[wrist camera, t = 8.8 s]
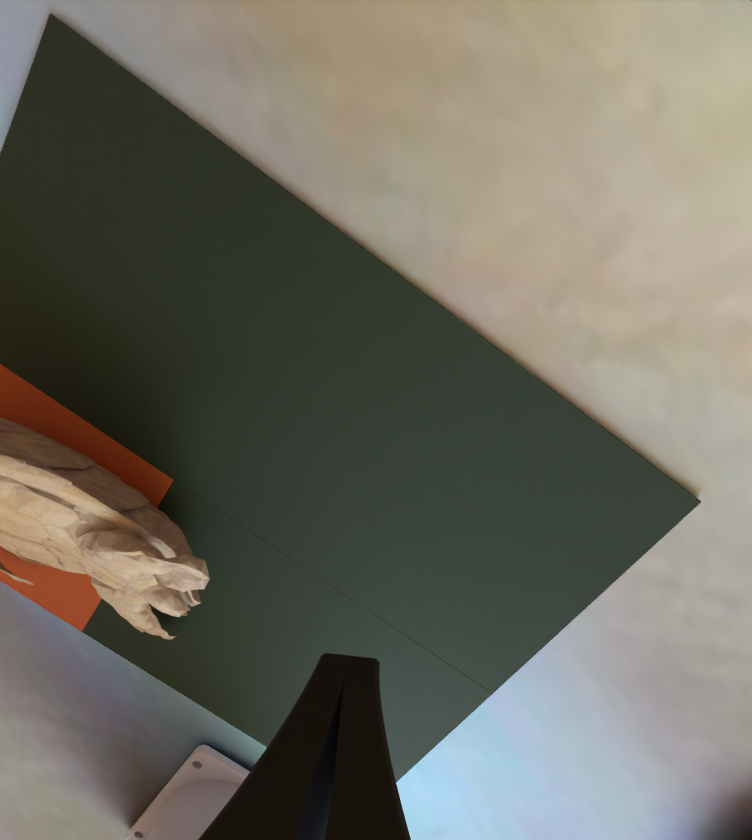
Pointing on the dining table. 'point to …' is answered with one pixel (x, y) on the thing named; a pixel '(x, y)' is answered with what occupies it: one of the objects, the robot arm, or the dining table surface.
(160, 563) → the beige animal figurine
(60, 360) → the play mat
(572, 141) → the dining table surface
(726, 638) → the dining table surface
